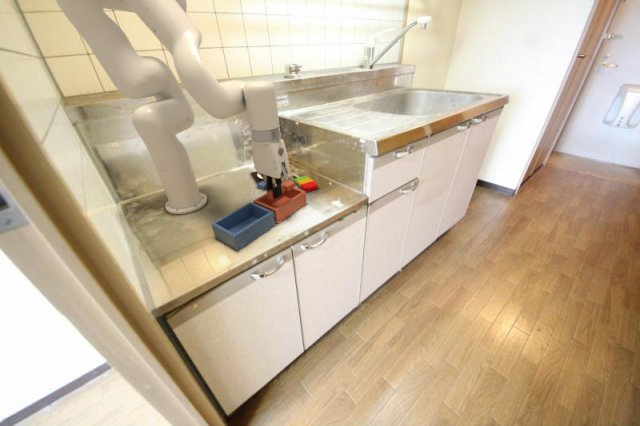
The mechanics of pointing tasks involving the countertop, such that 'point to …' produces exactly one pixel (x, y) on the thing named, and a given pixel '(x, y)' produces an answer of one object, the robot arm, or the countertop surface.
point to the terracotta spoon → (285, 187)
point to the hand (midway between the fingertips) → (275, 195)
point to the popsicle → (305, 183)
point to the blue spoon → (262, 185)
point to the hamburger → (257, 177)
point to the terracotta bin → (283, 203)
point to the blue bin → (243, 225)
